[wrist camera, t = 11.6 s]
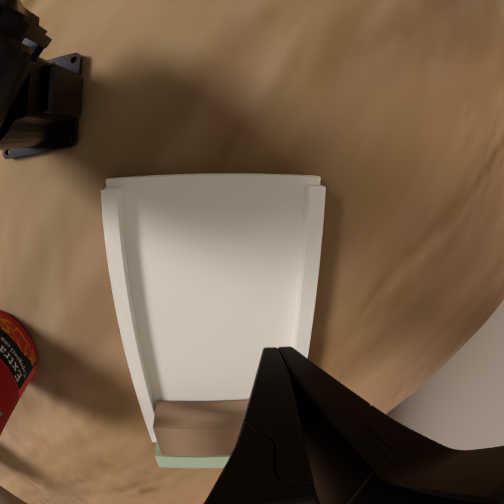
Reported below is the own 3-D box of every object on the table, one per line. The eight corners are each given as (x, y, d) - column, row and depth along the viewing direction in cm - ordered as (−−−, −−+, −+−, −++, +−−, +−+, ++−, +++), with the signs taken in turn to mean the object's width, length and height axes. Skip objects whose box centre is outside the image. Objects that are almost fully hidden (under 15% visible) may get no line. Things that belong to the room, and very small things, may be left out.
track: (157, 435, 25) (153, 466, 21) (110, 177, 17) (86, 185, 14) (287, 430, 27) (296, 460, 23) (315, 175, 19) (339, 182, 15)
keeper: (164, 429, 23) (162, 454, 20) (156, 400, 22) (152, 427, 19) (279, 425, 24) (285, 450, 22) (282, 396, 23) (290, 423, 20)
